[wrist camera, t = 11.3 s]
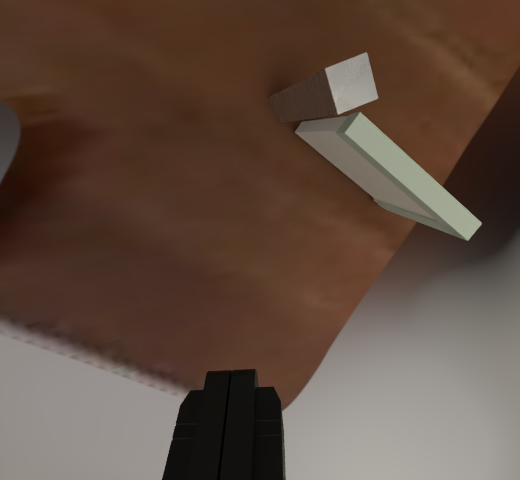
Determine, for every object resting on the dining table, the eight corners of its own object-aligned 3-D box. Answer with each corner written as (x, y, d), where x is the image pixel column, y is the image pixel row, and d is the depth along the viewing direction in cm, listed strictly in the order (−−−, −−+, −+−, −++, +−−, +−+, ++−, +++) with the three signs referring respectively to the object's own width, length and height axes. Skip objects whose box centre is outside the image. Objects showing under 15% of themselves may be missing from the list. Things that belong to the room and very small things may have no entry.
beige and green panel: (293, 134, 36) (344, 133, 24) (303, 120, 36) (360, 112, 24) (383, 208, 40) (467, 240, 28) (393, 196, 39) (482, 223, 27)
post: (268, 97, 36) (324, 68, 21) (293, 87, 36) (366, 52, 21) (277, 123, 37) (338, 114, 22) (301, 113, 37) (378, 98, 22)
